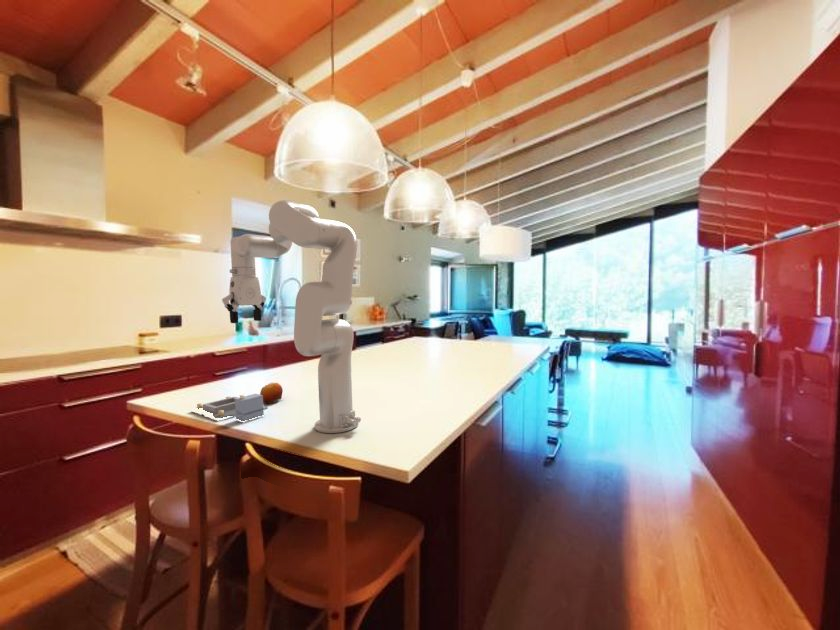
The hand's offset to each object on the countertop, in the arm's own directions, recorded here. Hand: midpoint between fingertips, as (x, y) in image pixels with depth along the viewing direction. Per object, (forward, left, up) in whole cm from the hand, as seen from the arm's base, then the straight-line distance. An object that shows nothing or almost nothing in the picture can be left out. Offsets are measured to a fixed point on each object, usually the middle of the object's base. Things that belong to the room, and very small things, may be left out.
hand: (246, 321), depth 138 cm
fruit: (-4, -6, -30) cm, 31 cm away
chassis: (0, +9, -30) cm, 31 cm away
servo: (-15, +9, -30) cm, 34 cm away
